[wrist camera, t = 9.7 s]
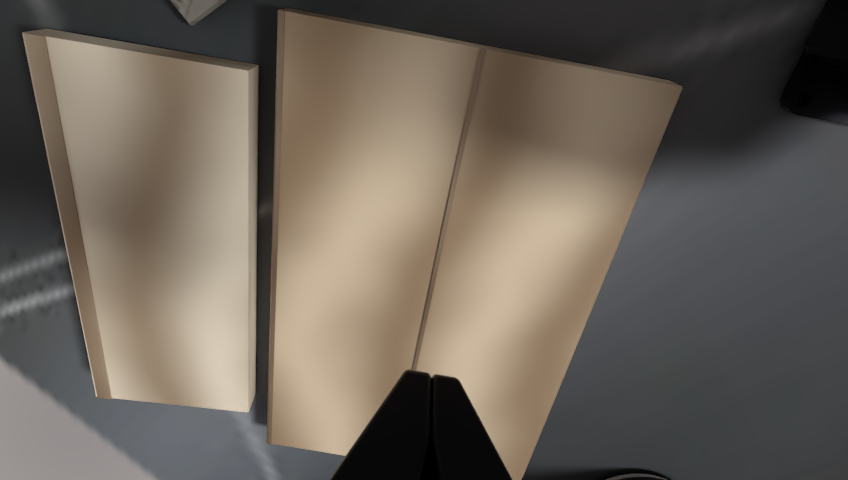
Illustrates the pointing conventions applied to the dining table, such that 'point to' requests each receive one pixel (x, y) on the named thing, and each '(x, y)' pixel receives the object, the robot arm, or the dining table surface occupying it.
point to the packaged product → (196, 8)
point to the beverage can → (636, 477)
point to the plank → (155, 212)
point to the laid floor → (440, 222)
